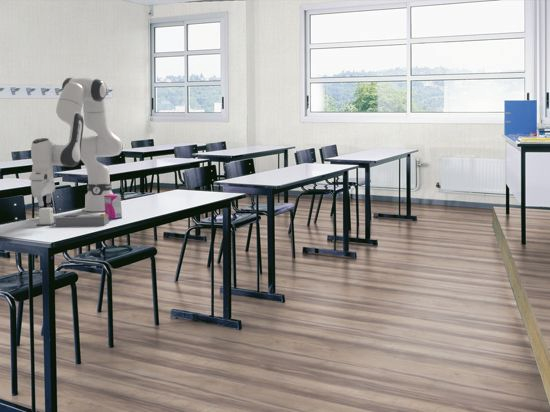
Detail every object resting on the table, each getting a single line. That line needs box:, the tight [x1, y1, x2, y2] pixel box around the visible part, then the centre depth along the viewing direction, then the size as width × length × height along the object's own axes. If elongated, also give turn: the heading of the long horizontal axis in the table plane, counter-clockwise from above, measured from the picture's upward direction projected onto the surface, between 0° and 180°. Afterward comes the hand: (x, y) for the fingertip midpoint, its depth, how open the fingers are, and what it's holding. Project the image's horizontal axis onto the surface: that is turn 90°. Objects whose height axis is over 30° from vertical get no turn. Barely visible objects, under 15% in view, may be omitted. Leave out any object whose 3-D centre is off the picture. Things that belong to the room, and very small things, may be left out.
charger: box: [38, 207, 55, 224], centre depth 302 cm, size 4×5×7 cm
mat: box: [35, 221, 55, 227], centre depth 302 cm, size 7×7×1 cm
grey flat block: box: [54, 212, 112, 227], centre depth 304 cm, size 16×22×5 cm
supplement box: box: [104, 193, 123, 220], centre depth 317 cm, size 6×6×12 cm
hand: (45, 204), depth 302 cm, fingers open, 8 cm apart
